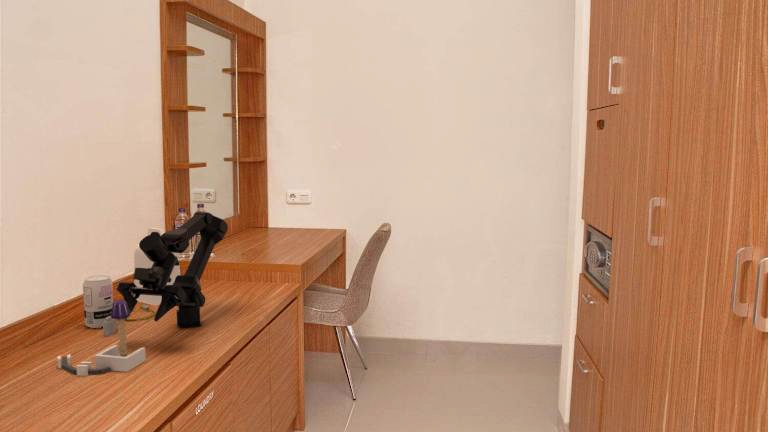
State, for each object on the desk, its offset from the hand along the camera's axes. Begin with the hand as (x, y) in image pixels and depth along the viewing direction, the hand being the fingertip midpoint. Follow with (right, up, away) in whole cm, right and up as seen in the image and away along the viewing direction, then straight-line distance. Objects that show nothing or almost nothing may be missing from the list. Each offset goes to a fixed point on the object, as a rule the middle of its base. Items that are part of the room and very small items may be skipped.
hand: (140, 319), depth 163 cm
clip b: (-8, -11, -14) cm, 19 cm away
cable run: (-10, -10, -9) cm, 17 cm away
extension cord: (-15, -5, +36) cm, 40 cm away
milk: (-15, -2, +54) cm, 56 cm away
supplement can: (-22, -6, +24) cm, 34 cm away
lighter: (-15, -7, +18) cm, 24 cm away
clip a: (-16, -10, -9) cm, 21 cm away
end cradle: (-2, -10, -7) cm, 13 cm away
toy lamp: (-2, -11, -7) cm, 13 cm away
